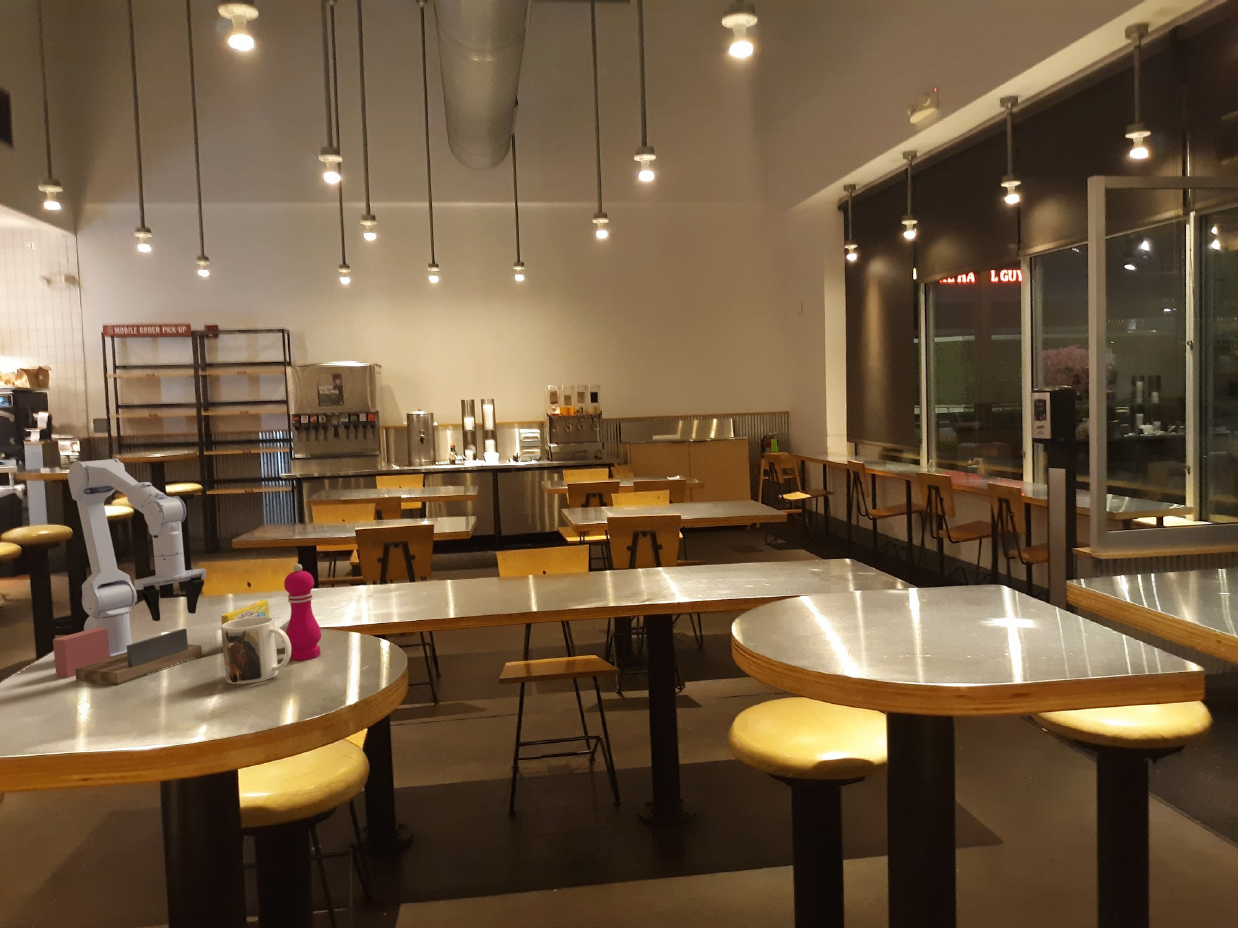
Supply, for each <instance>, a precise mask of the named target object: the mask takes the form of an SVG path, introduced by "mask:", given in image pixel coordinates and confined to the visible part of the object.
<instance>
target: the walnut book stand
mask: <svg viewBox="0 0 1238 928" xmlns="http://www.w3.org/2000/svg"><path fill="white" fill-rule="evenodd" d="M202 651H203V649H202V645H201V644H189V643H188V650H185V651H182V652H179V653H176V654H172V655H169V656H166V657H163V658H160V659H157V660H154V661H151V662H148V663H145V664H142V665H139V666H136V667H133V668H130V667H128V657H127V653H124V654H120V655H117V656H114V657H110V659H107V660H103V661H100V662H97V663H94V664H90V665H87V666H84V667H81V668H77V669H75V673H76V676H75V680H76V682H81V683H82V682H83V683H90V684H91V683H93V684H102V685H112V686H113V685H114V686H119V685H122V684H125V683H128V682H131V681H134V680H136V678H137V679H139V677H140V678H142V677H141V676H143V677H145V676H144V675H146V676H148V675H147V674H148V673H152V672H154V671H158V670H161V669H163V668H166V667H169V668H171V667H170V666H171V665H175V664H177V663H181V662H184V663H186V662H185V661H187V660H190V661H192V660H191V659H193V658H196V657H199V658H201V657H200V656H202V657H203V652H202ZM196 659H197V658H196ZM193 660H194V659H193ZM187 662H188V661H187ZM181 664H182V663H181ZM175 666H176V665H175ZM166 669H167V668H166ZM163 670H164V669H163ZM161 671H162V670H161ZM158 672H159V671H158ZM152 674H153V673H152Z"/></svg>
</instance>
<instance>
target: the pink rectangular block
mask: <svg viewBox="0 0 1238 928" xmlns="http://www.w3.org/2000/svg"><path fill="white" fill-rule="evenodd" d="M52 646H53V647H52V648H53V656H54V664H55V665H54V666H55V673H56V674H55V675H56V678H64V679H70V678H72V677H76V673H75V669H77V668H81V667H84V666H87V665H90V664H94V663H97V662H100V661H103V660H107V659H110V658H111V657H110V652H109V641H108V631H107V628H94V629H90V630H86V631H84V630H81V631H80V632H75V633H73V634H69V635H68V634H67V635H65V636H61V637H56V638H54V639H52Z"/></svg>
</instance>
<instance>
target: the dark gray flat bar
mask: <svg viewBox="0 0 1238 928" xmlns="http://www.w3.org/2000/svg"><path fill="white" fill-rule="evenodd" d="M188 644H189V642H188V634H187V628H181V629H177V630H173V631H170V632H167V633H164V634H161V635H157V636H154V637H150V638H148V639H147V638H146V639H144V640H141V641H137V642H134V643H133V642H132V644H130V645H126V646H127V657H128V667H130V668H133V667H136V666H139V665H142V664H145V663H148V662H151V661H154V660H157V659H160V658H163V657H166V656H169V655H172V654H176V653H179V652H182V651H185V650H188Z"/></svg>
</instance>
